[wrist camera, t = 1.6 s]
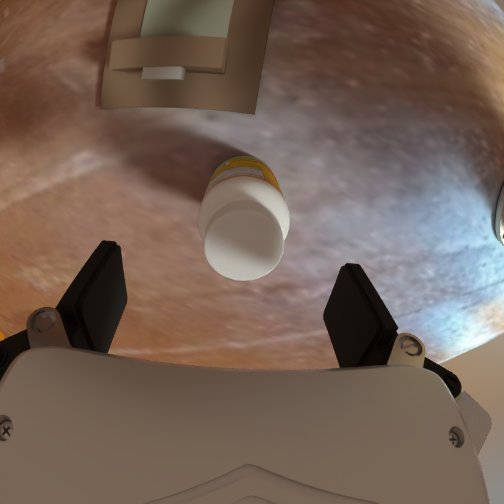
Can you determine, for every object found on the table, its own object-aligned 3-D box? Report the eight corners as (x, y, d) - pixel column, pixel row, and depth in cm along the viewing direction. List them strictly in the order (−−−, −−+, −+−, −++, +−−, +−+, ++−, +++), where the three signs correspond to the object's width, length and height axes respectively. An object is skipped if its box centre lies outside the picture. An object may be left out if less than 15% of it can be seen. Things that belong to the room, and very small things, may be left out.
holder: (283, -51, 11) (292, -79, 6) (254, 114, 19) (257, 117, 14) (138, -50, 9) (118, -73, 5) (105, 108, 17) (73, 113, 13)
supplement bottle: (275, 217, 23) (293, 291, 15) (211, 218, 23) (195, 292, 15) (277, 154, 20) (303, 196, 12) (208, 155, 20) (183, 197, 12)
